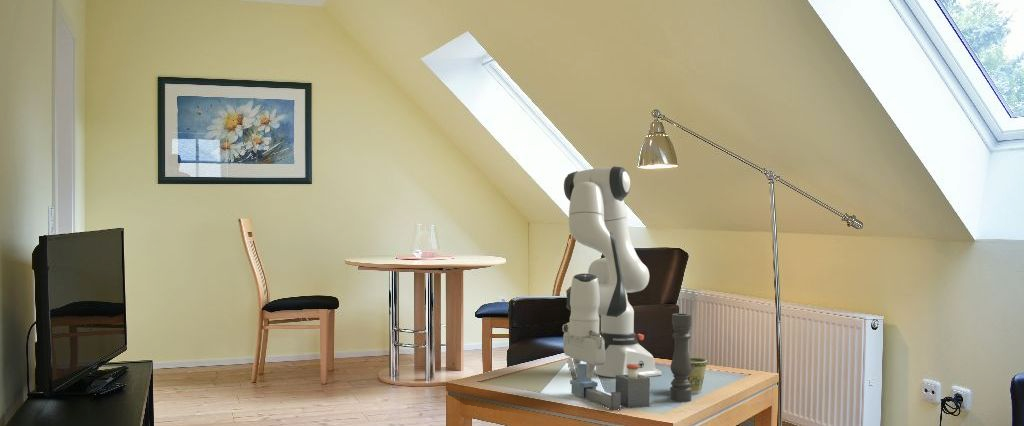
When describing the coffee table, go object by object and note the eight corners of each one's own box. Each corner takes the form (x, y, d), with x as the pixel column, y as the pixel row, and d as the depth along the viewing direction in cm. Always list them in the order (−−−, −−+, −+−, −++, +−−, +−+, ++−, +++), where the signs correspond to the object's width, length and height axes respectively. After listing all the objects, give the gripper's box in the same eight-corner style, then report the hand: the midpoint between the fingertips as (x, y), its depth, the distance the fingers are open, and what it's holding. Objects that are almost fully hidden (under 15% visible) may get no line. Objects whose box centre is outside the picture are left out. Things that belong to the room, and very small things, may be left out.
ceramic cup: (699, 397, 265) (700, 363, 265) (668, 392, 270) (668, 360, 270) (714, 389, 276) (714, 357, 276) (683, 386, 281) (684, 354, 281)
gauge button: (634, 383, 255) (634, 363, 255) (640, 386, 252) (641, 365, 252) (624, 384, 254) (624, 364, 254) (630, 386, 251) (630, 366, 251)
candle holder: (667, 397, 263) (668, 313, 263) (687, 397, 264) (689, 313, 264) (673, 401, 257) (674, 315, 257) (693, 401, 258) (695, 315, 258)
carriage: (587, 391, 267) (588, 362, 267) (597, 395, 262) (597, 365, 262) (569, 393, 265) (570, 363, 265) (579, 397, 259) (579, 366, 259)
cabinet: (636, 401, 258) (636, 373, 258) (649, 406, 251) (649, 378, 251) (615, 402, 255) (615, 375, 255) (627, 408, 248) (628, 379, 248)
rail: (580, 393, 268) (580, 376, 268) (620, 410, 246) (620, 392, 246) (573, 393, 267) (573, 376, 267) (612, 410, 245) (613, 392, 245)
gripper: (611, 333, 255) (610, 381, 255) (578, 324, 274) (577, 369, 274) (591, 334, 252) (590, 382, 252) (559, 325, 271) (559, 370, 271)
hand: (583, 375), depth 263 cm, fingers open, 5 cm apart
